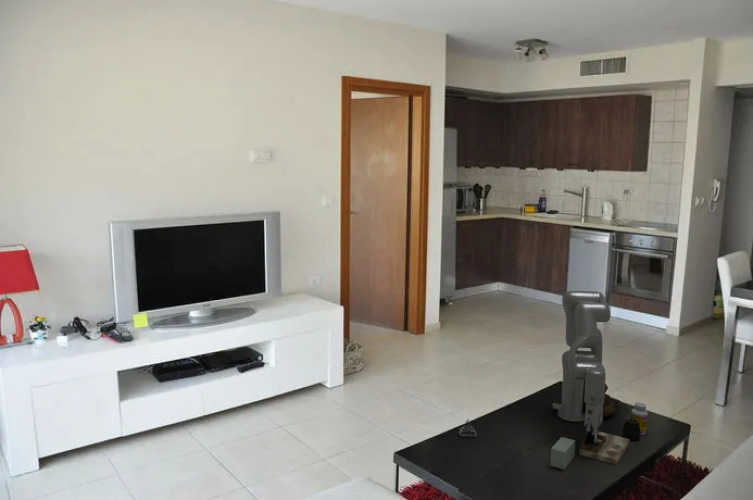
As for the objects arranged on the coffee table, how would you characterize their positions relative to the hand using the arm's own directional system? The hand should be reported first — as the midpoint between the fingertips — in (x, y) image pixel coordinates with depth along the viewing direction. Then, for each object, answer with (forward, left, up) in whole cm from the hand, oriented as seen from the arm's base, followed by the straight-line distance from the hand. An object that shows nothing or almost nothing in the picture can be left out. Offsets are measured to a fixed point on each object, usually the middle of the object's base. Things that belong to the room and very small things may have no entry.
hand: (591, 441), depth 250 cm
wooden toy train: (-11, +42, -5) cm, 43 cm away
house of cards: (-49, -12, -6) cm, 51 cm away
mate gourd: (+10, +24, -5) cm, 27 cm away
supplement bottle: (+12, +31, -5) cm, 33 cm away
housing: (-7, -13, -5) cm, 16 cm away
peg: (0, 0, -2) cm, 2 cm away
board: (+4, +7, -5) cm, 9 cm away
